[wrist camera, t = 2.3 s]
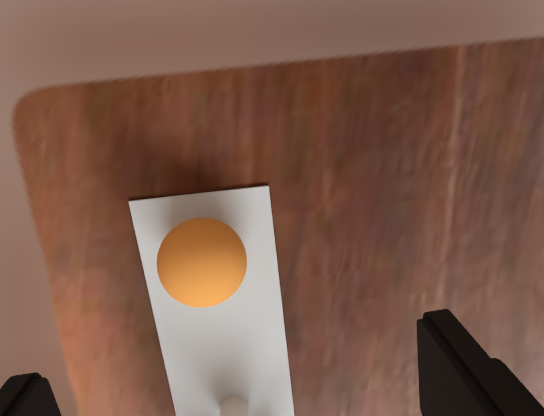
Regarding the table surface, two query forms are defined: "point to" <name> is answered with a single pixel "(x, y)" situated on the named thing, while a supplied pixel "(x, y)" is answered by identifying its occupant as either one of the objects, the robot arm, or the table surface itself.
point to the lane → (221, 309)
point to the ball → (201, 262)
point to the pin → (234, 406)
